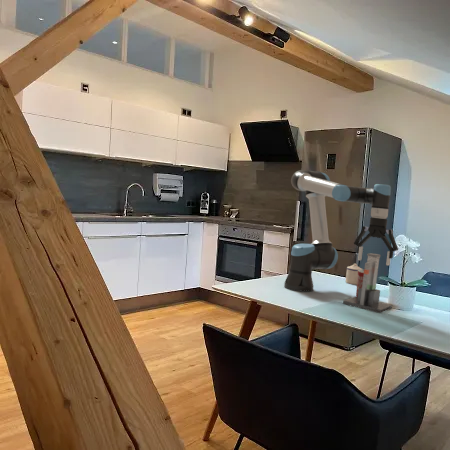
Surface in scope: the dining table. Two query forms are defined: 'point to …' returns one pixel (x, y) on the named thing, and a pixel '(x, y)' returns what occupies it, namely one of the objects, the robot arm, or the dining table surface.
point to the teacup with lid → (352, 274)
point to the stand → (367, 297)
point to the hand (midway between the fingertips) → (373, 262)
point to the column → (372, 270)
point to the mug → (359, 280)
